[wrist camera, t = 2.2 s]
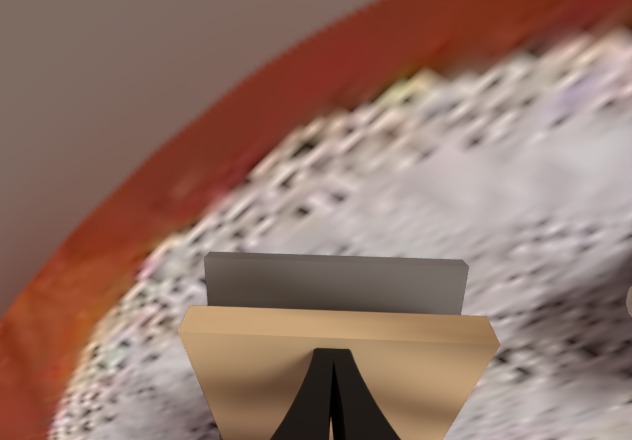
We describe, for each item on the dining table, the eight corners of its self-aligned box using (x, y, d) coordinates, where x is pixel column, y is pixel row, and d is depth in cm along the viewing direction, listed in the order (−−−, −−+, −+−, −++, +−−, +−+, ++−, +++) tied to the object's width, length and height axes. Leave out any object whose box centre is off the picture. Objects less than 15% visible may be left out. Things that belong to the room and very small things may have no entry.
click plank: (430, 425, 18) (436, 450, 17) (228, 415, 18) (222, 439, 17) (486, 316, 12) (500, 344, 11) (190, 305, 12) (177, 331, 11)
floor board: (416, 536, 22) (425, 576, 20) (232, 526, 22) (223, 564, 20) (462, 259, 16) (480, 277, 14) (209, 251, 16) (193, 268, 14)
